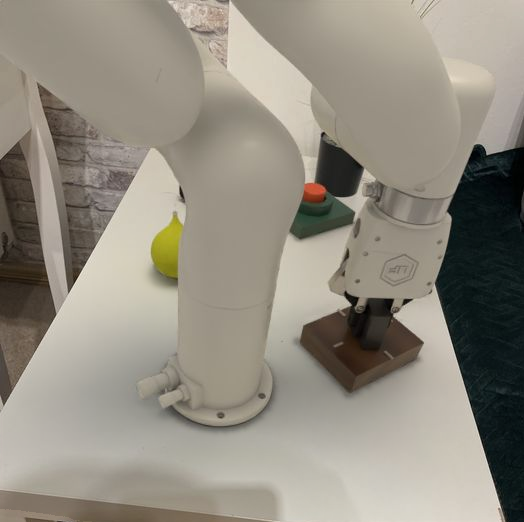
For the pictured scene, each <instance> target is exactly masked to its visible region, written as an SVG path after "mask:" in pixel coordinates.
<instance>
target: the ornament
mask: <svg viewBox="0 0 524 522" xmlns="http://www.w3.org/2000/svg"><path fill="white" fill-rule="evenodd" d="M173 204H174V206H177V203H173ZM183 226H184V224H183V223H181V221H180V219H179V216H178V210H172V218H171V221H170V223H169V224H168V225H166V227H164V228H163V229H161V230H160V231H159V232H158V233H157V234H156V235H155V236H154V238H153V239H152V241H151V246H150V257H151V261H152V263H153V265H154V267H155V268H156V269H157V270H158V271H159V272H160V273H161V274H163V275H164V276H166V277H170V278H172V279H173V278H174V279H178V249H179V241H180V236H181V232H182V229H183Z"/></svg>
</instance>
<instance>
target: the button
mask: <svg viewBox="0 0 524 522" xmlns="http://www.w3.org/2000/svg"><path fill="white" fill-rule="evenodd" d="M326 191H327V189H326V187H325V186H323V185H322V184H320V183H316V182H305V187H304V193H303V197H302V199H303V200H305V201H308V202H311V203H321V202H323V201H324V198H325V193H326Z"/></svg>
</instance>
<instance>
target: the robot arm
mask: <svg viewBox="0 0 524 522" xmlns="http://www.w3.org/2000/svg"><path fill="white" fill-rule="evenodd" d="M229 1H230V2H231V4H232V5H233V6H234V7H235V9H236V10H237V11H238V12H239V13H240V14H241V15H242V17H243V18H244V19H245V20H246V21H247V23H249V25H250V26H251V27H252V28H253V29H254V30H255V31H256V32H257V34H259V36H261V38H263V40H265V41H266V43H268V44H269V45H270V46H271V47H272V48H273V49H274V50H276V52H278V53H279V54H280V55H281V56H283V58H285V59H286V60H287V61H288V63H290V64H291V65H292V66H293V67H294V68H296V70H297V71H299V72H300V73H301V75H302V76H304V78H306V79H307V80H308V81H309V83H310V84H311V85H312V86H311V90H310V98H309V99H310V100H309V101H310V109H311V112H312V116H313V119H314V120H315V122H316V123H317V125H318V127H319V128H320V129H321V130H322V131H323V133H324V134H326V136H328V137H329V139H331V140H332V141H333V142H334V143H335V144H336V145H337V146H339V148H341V149H342V150H343V151H344V152H345V153H347V154H348V155H349V156H350V157H352V158H353V160H355V162H357V163H358V164H359V165H360V166H361V167H362V168H363V169H365V170H366V171H367V172H368V173H369V174H370V175H371V176H372V177H373V178H374V179H375V180H374V181H371V182H364V183H363V184H362V188H361V195H362V197H363V198H366V200H365V202H364V204H363V206H361V209H360V211H359V213H358V215H357V217H356V219H355V221H354V222H353V223H354V224H353V226H352V227H351V230H350V233H349V236H348V237H347V240H346V243H345V247H344V249H343V252H342V256H341V259H340V263H339V267H338V268H337V270H336V271H335V272H334V273H333V274H332V275H331V277H330V278H329V279H328V281H327V285H328V288H329V289H328V290H329V291H330V292H331V293H333V294H336V295H338V296H341V297H344V298H345V300H346V301H347V302H348V303H349V304H350V306H351V308H350V311H349V314H348V318H347V324H348V327H351V329H352V332H353V335H354V337H359V336H360V335H361V333H362V330H363V327H364V324H365V321H366V318H367V311H366V306H367V303H368V301H369V298H384V300H385V303H386V305H387V308H388V310H389V313H390V315H391V319H390V321H389V324H388V326H387V328H388V327H389V325H390V323H391V320H392V317H394V315H395V314H398V313H400V312H401V309H402V307H404V306H405V305H407V304H408V303H410V302H412V301H414V300H417V299H423V298H426V297H428V296H429V295H431V294H432V293H433V288H434V286H435V283H436V281H437V278H438V275H439V272H440V269H441V267H442V263H443V261H444V257H445V254H446V250H447V247H448V242H449V237H450V234H451V233H450V231H451V227H452V219H453V218H452V216H451V214H449V212H448V210H449V208H450V206H451V203H452V200H453V198H454V196H455V193H456V190H457V188H458V186H459V183H460V181H461V179H462V176H463V174H464V171H465V169H466V166H467V164H468V162H469V158H470V157H471V154H472V152H473V150H474V147H475V144H476V142H477V140H478V137H479V135H480V132H481V130H482V127H483V125H484V122H485V120H486V118H487V115H488V113H489V110H490V108H491V106H492V103H493V100H494V98H495V94H496V89H497V87H496V86H497V85H496V80H495V78H494V76H493V74H492V72H490V71H488V69H486V68H484V67H483V66H481V65H479V64H477V63H476V62H475V63H474V62H472V61H468V60H465V59H461V58H457V57H450V56H442V55H441V54H440V51H439V49H438V47H437V44H436V43H435V41H434V38H433V36H432V35H431V33H430V32H429V30H428V28H427V26H426V25H425V23H424V21H423V20H422V18H421V16H420V15H419V13H418V12H417V10H416V8H414V5H413V4H412V3H411V1H410V0H229ZM0 55H1V56H3V57H4V58H5V59H6V60H7V61H9V62H10V63H11V64H13V65H14V66H15V67H17V69H19V70H20V71H22V72H23V73H24V74H26V75H27V76H28V77H30V78H31V79H32V80H33V81H35V82H37V83H38V84H39V85H40V86H41V87H43V88H44V89H45V90H47V91H48V92H49V93H50V94H52V95H53V96H54V97H56V98H57V99H59V100H60V102H62V103H64V104H65V105H66V106H67V107H68V108H70V109H71V110H72V111H73V112H74V113H76V114H77V115H78V116H79V117H81V118H82V119H83V120H84V121H85V122H86V123H88V124H89V125H90V126H91V127H93V128H94V129H96V130H97V131H99V132H100V133H101V134H103V135H104V136H106V137H107V138H110V139H111V140H113V141H116V142H119V143H121V144H123V145H126V146H131V147H135V148H138V149H155V150H156V151H157V152H158V153H159V154H160V155H161V156H162V158H163V159H164V160H165V162H166V164H167V165H168V167H169V168H170V171H171V172H172V174H173V176H174V178H175V180H176V182H177V183H178V184H179V185H180V187H181V189H182V191H183V194H184V199H183V200H184V204H185V216H184V222H183V229H182V232H181V236H180V241H179V249H178V278H177V352H176V353H175V354H172V355H170V356H169V357H168V363H167V365H166V367H165V368H162V369H161V371H160V373H159V374H157V375H154V376H148V377H146V378H143V379H141V380H139V381H137V382H136V383H135V387H136V390H137V393H138V395H139V396H140V398H141V399H142V400H144V399H147V398H150V397H151V396H153V395H156V394H159V393H160V392H161V391H164V393H163V394H161V395H158V397H157V399H158V403H159V405H160V407H161V408H162V409H166V408H168V407H170V406H172V408H174V410H175V411H177V412H178V413H179V414H180V415H181V416H183V417H185V418H186V419H188V420H191V421H192V422H194V423H195V422H196V423H198V424H200V425H206V426H211V427H229V426H235V425H238V424H241V423H242V424H243V423H245V422H248V421H249V420H251V419H253V418H255V417H256V416H257V415H259V414H260V413H261V412H262V411H263V410H264V409H265V408H266V406H267V405H268V404H269V401H270V399H271V395H272V392H273V384H274V381H273V374H272V372H271V369H270V367H269V365H268V364H267V363H266V361H265V354H266V348H267V342H268V336H269V331H270V326H271V320H272V319H271V318H272V313H273V307H274V303H275V302H274V301H275V297H276V290H277V284H278V278H279V274H280V273H279V271H280V266H281V261H282V257H283V253H284V250H285V245H286V242H287V238H288V235H289V233H290V231H289V230H290V227H291V225H292V223H293V220H294V218H295V216H296V213H297V211H298V208H299V206H300V203H301V200H302V197H303V193H304V187H305V184H306V169H305V168H306V167H305V163H304V159H303V156H302V153H301V150H300V148H299V146H298V144H297V142H296V140H295V138H294V137H293V135H292V133H291V132H290V131H289V129H288V128H287V127H286V126H285V124H284V123H283V122H282V121H281V120H280V119H279V118H278V117H277V116H276V115H275V114H274V113H273V111H271V110H270V109H269V108H268V107H267V106H266V105H265V104H264V103H263V102H261V100H259V99H258V98H257V97H256V96H255V95H254V94H253V93H251V92H250V90H248V88H247V87H246V86H245V85H243V83H241V82H240V81H239V79H237V78H236V76H235V75H233V73H232V72H231V71H230V70H228V68H227V67H225V65H224V64H223V63H222V62H221V61H220V60H219V59H218V58H217V57H216V56H215V55H214V53H212V52H211V50H210V49H209V48H208V47H207V46H206V45H205V44H204V43H203V41H201V39H199V37H198V36H197V35H196V34H195V33H194V32H193V31H192V30H191V29H190V28H189V26H188V25H187V24H186V23H185V22H184V20H183V19H182V18H181V16H180V14H179V13H178V12H177V10H175V8H174V7H173V6H172V5H171V3H170V2H169V1H168V0H0ZM179 185H178V186H179Z"/></svg>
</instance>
